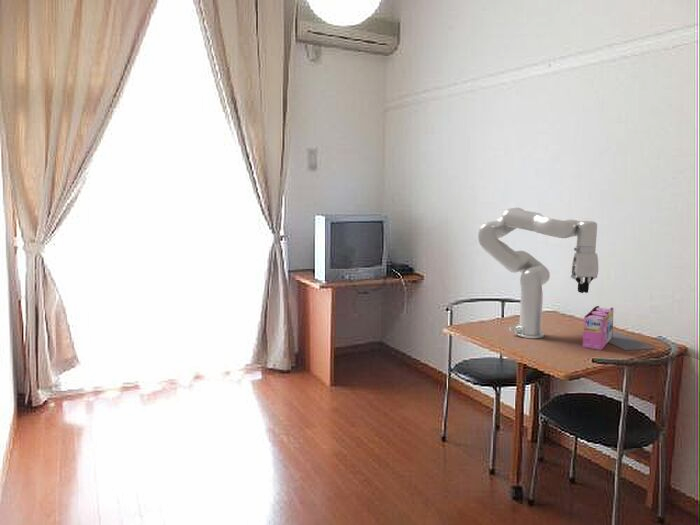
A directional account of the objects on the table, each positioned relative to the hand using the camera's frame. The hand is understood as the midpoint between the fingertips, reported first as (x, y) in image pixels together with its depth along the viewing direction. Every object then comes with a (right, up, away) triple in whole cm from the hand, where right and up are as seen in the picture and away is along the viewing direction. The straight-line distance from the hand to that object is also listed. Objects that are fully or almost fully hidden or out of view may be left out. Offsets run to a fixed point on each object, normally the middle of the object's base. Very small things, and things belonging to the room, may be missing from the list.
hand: (582, 292), depth 236 cm
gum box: (+9, -23, +5) cm, 25 cm away
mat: (+20, -22, +7) cm, 31 cm away
